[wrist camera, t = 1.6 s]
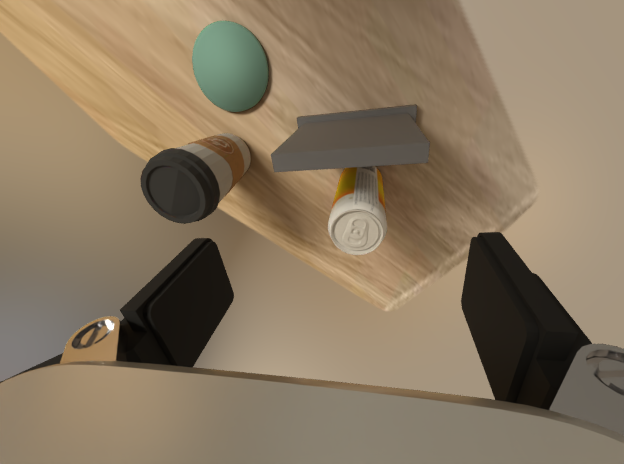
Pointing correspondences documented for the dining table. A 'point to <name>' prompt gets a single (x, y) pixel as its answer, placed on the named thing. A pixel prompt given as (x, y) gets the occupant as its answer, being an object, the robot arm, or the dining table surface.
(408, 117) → the screen
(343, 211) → the beer can
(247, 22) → the dining table surface
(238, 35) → the coaster
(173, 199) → the coffee cup
